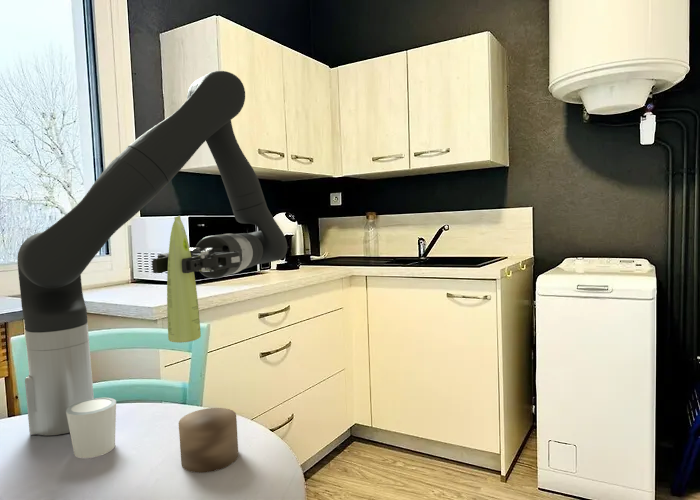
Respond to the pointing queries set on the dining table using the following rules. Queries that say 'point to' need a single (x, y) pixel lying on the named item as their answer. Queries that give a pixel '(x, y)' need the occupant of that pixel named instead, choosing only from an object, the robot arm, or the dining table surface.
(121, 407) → the dining table surface
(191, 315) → the tube
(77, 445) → the white cup
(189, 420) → the walnut block
